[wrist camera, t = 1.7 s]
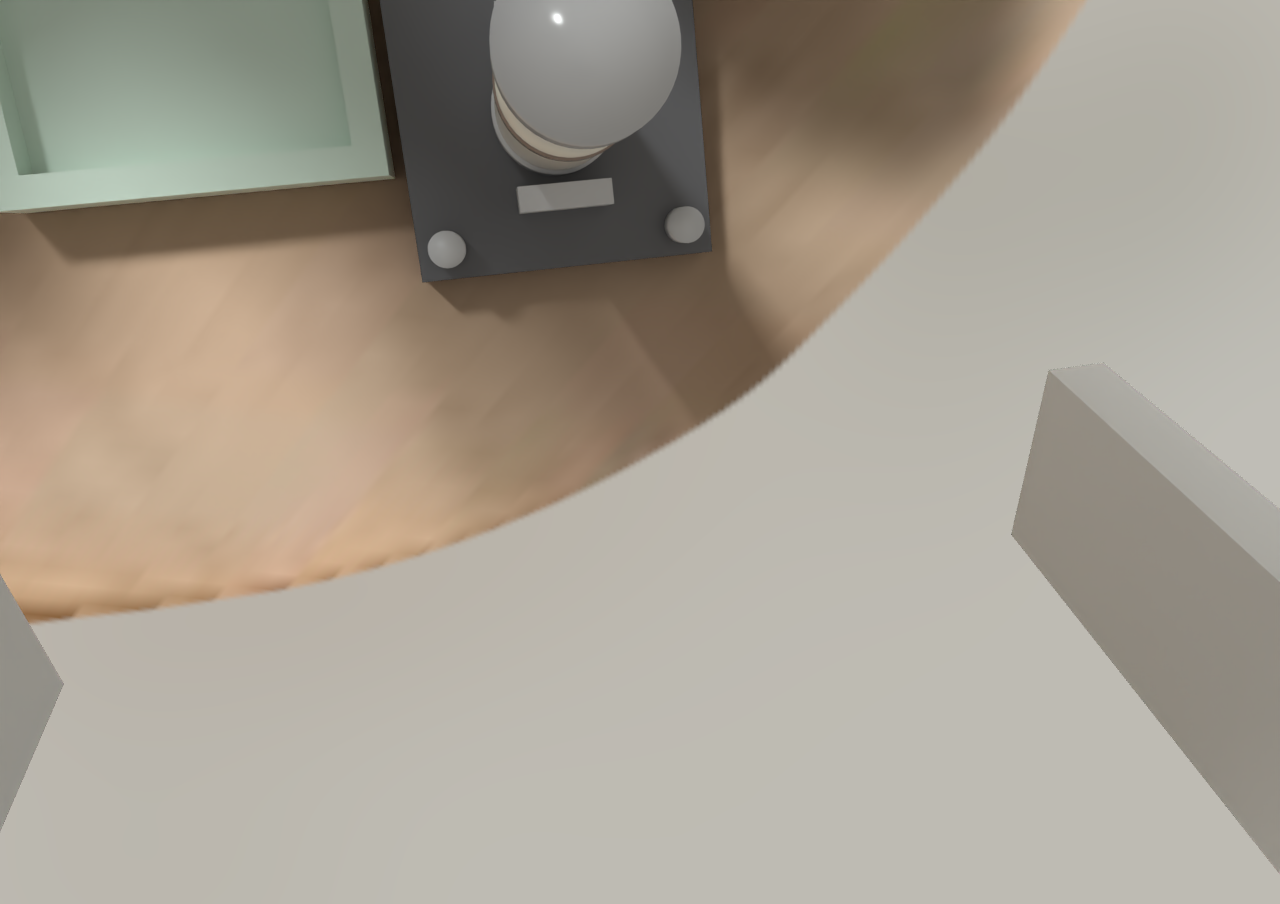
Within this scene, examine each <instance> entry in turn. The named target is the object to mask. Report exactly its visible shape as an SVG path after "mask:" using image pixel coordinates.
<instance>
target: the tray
mask: <svg viewBox="0 0 1280 904" xmlns="http://www.w3.org/2000/svg"><path fill="white" fill-rule="evenodd" d="M386 179H395V172H394V166H393V159H392V153H391V146H390V140H389V134H388V127H387V121H386V114H385V108H384V101H383V95H382V88H381V82H380V75H379V69H378V63H377V56H376V50H375V43H374V37H373V30H372V24H371V17H370V11H369V4H368V0H0V213H34V212H45V211H56V210H66V209H77V208H88V207H98V206H109V205H120V204H130V203H141V202H152V201H162V200H173V199H184V198H194V197H205V196H216V195H226V194H237V193H248V192H258V191H269V190H280V189H290V188H301V187H312V186H322V185H333V184H344V183H354V182H365V181H376V180H386Z"/></svg>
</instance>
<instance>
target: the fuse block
mask: <svg viewBox="0 0 1280 904" xmlns="http://www.w3.org/2000/svg"><path fill="white" fill-rule="evenodd" d="M495 2H496V0H380V6H381V13H382V19H383V26H384V32H385V39H386V45H387V52H388V59H389V65H390V72H391V78H392V85H393V91H394V98H395V105H396V111H397V118H398V124H399V131H400V137H401V144H402V151H403V157H404V164H405V170H406V177H407V183H408V190H409V197H410V203H411V210H412V216H413V223H414V229H415V236H416V243H417V249H418V256H419V262H420V269H421V275H422V282H431V281H440V280H449V279H459V278H468V277H477V276H487V275H496V274H505V273H515V272H524V271H533V270H543V269H552V268H562V267H571V266H580V265H590V264H599V263H608V262H618V261H627V260H636V259H646V258H655V257H664V256H674V255H683V254H692V253H702V252H711V251H712V244H711V232H710V219H709V206H708V193H707V181H706V168H705V155H704V142H703V130H702V117H701V104H700V91H699V79H698V66H697V53H696V40H695V28H694V15H693V2H692V0H672V2H673V5H674V7H675V10H676V13H677V17H678V21H679V26H680V33H681V58H680V65H679V70H678V74H677V77H676V80H675V83H674V86H673V88H672V90H671V92H670V94H669V96H668V98H667V100H666V101H665V103H664V104H663V106H662V107H661V109H660V110H659V111H658V112H657V114H656V115H655V116H654V117H653V118H652V119H651V120H650V121H649V122H648V123H646V124H645V125H644V126H643V127H642V128H640V129H639V130H637V131H636V132H634V133H633V134H631V135H630V136H628V137H627V138H625V139H623V140H621V141H619V142H617V143H615V144H614V145H612V146H611V147H610V148H608V149H607V150H605V151H604V152H602V154H601V155H600V156H599V157H598V158H597V159H595V160H594V161H593V162H592V163H590V164H589V165H587V166H586V167H584V168H583V169H581V170H579V171H577V172H575V173H571V174H568V175H563V176H545V175H540V174H536V173H534V172H531V171H529V170H527V169H525V168H523V167H522V166H520V165H519V164H518V163H516V162H515V161H514V160H513V159H512V158H511V157H510V156H509V155H508V154H507V153H506V152H505V150H504V149H503V147H502V146H501V144H500V143H499V140H498V138H497V136H496V134H495V131H494V127H493V123H492V116H491V96H492V90H493V84H492V74H493V72H492V67H491V62H490V42H489V36H490V22H491V17H492V12H493V8H494V5H495Z"/></svg>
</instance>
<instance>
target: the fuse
mask: <svg viewBox="0 0 1280 904" xmlns="http://www.w3.org/2000/svg"><path fill="white" fill-rule="evenodd" d="M489 42H490V62H491V67H492V72H493V74H492V84H493V90H492V96H491V116H492V123H493V127H494V131H495V134H496V136H497V138H498V140H499V143H500V144H501V146H502V147H503V149H504V150H505V152H506V153H507V154H508V155H509V156H510V157H511V158H512V159H513V160H514V161H515V162H516V163H518V164H519V165H520V166H522V167H523V168H525V169H527V170H529V171H531V172H534V173H536V174H540V175H545V176H563V175H568V174H571V173H575V172H577V171H579V170H581V169H583V168H584V167H586V166H587V165H589V164H590V163H592V162H593V161H594V160H595V159H597V158H598V157H599V156H600V155H601V154H602V152H604V151H605V150H607V149H608V148H610V147H611V146H612V145H614V144H615V143H617V142H619V141H621V140H623V139H625V138H627V137H628V136H630V135H631V134H633V133H634V132H636V131H637V130H639V129H640V128H642V127H643V126H644V125H645V124H646V123H648V122H649V121H650V120H651V119H652V118H653V117H654V116H655V115H656V114H657V112H658V111H659V110H660V109H661V107H662V106H663V104H664V103H665V101H666V100H667V98H668V96H669V94H670V92H671V90H672V88H673V86H674V83H675V80H676V77H677V74H678V70H679V65H680V58H681V33H680V26H679V21H678V17H677V13H676V10H675V7H674V5H673V2H672V0H496V2H495V5H494V8H493V12H492V17H491V22H490V36H489Z"/></svg>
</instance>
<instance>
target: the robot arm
mask: <svg viewBox="0 0 1280 904" xmlns="http://www.w3.org/2000/svg"><path fill="white" fill-rule="evenodd" d="M1011 535H1012V536H1013V537H1014V539H1015V540H1016V541H1017V542H1018V544H1019V545H1020V546H1021V547H1022V549H1023V550H1024V551H1025V552H1026V554H1027V555H1028V556H1029V557H1030V559H1031V560H1032V561H1033V563H1034V564H1035V565H1036V566H1037V568H1038V569H1039V570H1040V571H1041V572H1042V574H1043V575H1044V576H1045V578H1046V579H1047V580H1048V581H1049V583H1050V584H1051V585H1052V586H1053V588H1054V589H1055V590H1056V591H1057V593H1058V594H1059V595H1060V597H1061V598H1062V599H1063V601H1064V602H1065V603H1066V604H1067V605H1068V607H1069V608H1070V609H1071V611H1072V612H1073V613H1074V614H1075V616H1076V617H1077V618H1078V619H1079V621H1080V622H1081V623H1082V624H1083V626H1084V627H1085V628H1086V629H1087V631H1088V632H1089V633H1090V635H1091V636H1092V637H1093V638H1094V640H1095V641H1096V642H1097V644H1098V645H1099V646H1100V647H1101V649H1102V650H1103V651H1104V652H1105V654H1106V655H1107V656H1108V657H1109V659H1110V660H1111V661H1112V663H1113V664H1114V665H1115V666H1116V668H1117V669H1118V670H1119V671H1120V673H1121V674H1122V675H1123V676H1124V678H1125V679H1126V680H1127V681H1128V683H1129V684H1130V685H1131V686H1132V688H1133V689H1134V690H1135V691H1136V693H1137V694H1138V695H1139V697H1140V698H1141V699H1142V700H1143V702H1144V703H1145V704H1146V705H1147V707H1148V708H1149V709H1150V711H1151V712H1152V713H1153V714H1154V716H1155V717H1156V718H1157V719H1158V721H1159V722H1160V723H1161V724H1162V726H1163V727H1164V728H1165V729H1166V731H1167V732H1168V733H1169V735H1170V736H1171V737H1172V738H1173V740H1174V741H1175V742H1176V743H1177V745H1178V746H1179V747H1180V748H1181V750H1182V751H1183V752H1184V754H1185V755H1186V756H1187V757H1188V759H1189V760H1190V761H1191V762H1192V764H1193V765H1194V766H1195V767H1196V769H1197V770H1198V771H1199V773H1200V774H1201V775H1202V776H1203V778H1204V779H1205V780H1206V781H1207V783H1208V784H1209V785H1210V787H1211V788H1212V789H1213V790H1214V791H1215V793H1216V794H1217V795H1218V797H1219V798H1220V799H1221V800H1222V802H1223V803H1224V804H1225V805H1226V807H1227V808H1228V809H1229V810H1230V812H1231V813H1232V814H1233V816H1234V817H1235V818H1236V819H1237V821H1238V822H1239V823H1240V824H1241V826H1242V827H1243V828H1244V829H1245V831H1246V832H1247V833H1248V835H1249V836H1250V837H1251V838H1252V840H1253V841H1254V842H1255V843H1256V845H1257V846H1258V847H1259V849H1260V850H1261V851H1262V852H1263V854H1264V855H1265V856H1266V857H1267V859H1269V861H1270V862H1271V864H1272V865H1273V866H1274V867H1275V869H1276V870H1277V871H1278V872H1279V874H1280V509H1279V508H1278V507H1277V506H1276V505H1274V504H1273V503H1272V502H1271V501H1270V500H1268V499H1267V498H1266V497H1265V496H1264V495H1262V494H1261V493H1260V492H1259V491H1258V490H1256V489H1255V488H1254V487H1253V486H1251V485H1250V484H1249V483H1248V482H1247V481H1245V480H1244V479H1243V478H1242V477H1241V476H1239V475H1238V474H1237V473H1236V472H1235V471H1233V470H1232V469H1231V468H1230V467H1229V466H1227V465H1226V464H1225V463H1224V462H1223V461H1221V460H1220V459H1219V458H1218V457H1217V456H1215V455H1214V454H1213V453H1212V452H1211V451H1209V450H1208V449H1207V448H1206V447H1204V446H1203V445H1202V444H1201V443H1200V442H1199V441H1197V440H1196V439H1195V438H1194V437H1192V436H1191V435H1190V434H1189V433H1188V432H1187V431H1185V430H1184V429H1183V428H1182V427H1180V426H1179V425H1178V424H1177V423H1176V422H1174V421H1173V420H1172V419H1171V418H1169V417H1168V416H1167V415H1166V414H1165V413H1163V412H1162V411H1161V410H1160V409H1159V408H1158V407H1156V406H1155V405H1154V404H1153V403H1152V402H1150V401H1149V400H1148V399H1147V398H1146V397H1144V396H1143V395H1142V394H1141V393H1140V392H1138V391H1137V390H1136V389H1135V388H1133V387H1132V386H1131V385H1130V384H1129V383H1128V382H1126V381H1125V380H1124V379H1123V378H1122V377H1120V376H1119V375H1118V374H1117V373H1115V372H1114V371H1113V370H1112V369H1111V368H1109V367H1108V366H1107V365H1106V364H1105V363H1097V364H1090V365H1082V366H1075V367H1068V368H1061V369H1053V370H1049V371H1048V375H1047V380H1046V384H1045V389H1044V393H1043V398H1042V402H1041V407H1040V411H1039V415H1038V420H1037V424H1036V428H1035V433H1034V437H1033V442H1032V446H1031V450H1030V454H1029V459H1028V463H1027V468H1026V472H1025V477H1024V481H1023V485H1022V490H1021V494H1020V499H1019V503H1018V508H1017V512H1016V516H1015V520H1014V525H1013V530H1012V534H1011ZM63 685H64V683H63V682H62V680H61V678H60V676H59V675H58V673H57V671H56V670H55V668H54V666H53V664H52V663H51V661H50V659H49V657H48V656H47V654H46V652H45V651H44V649H43V647H42V645H41V644H40V642H39V640H38V638H37V637H36V635H35V633H34V632H33V630H32V628H31V626H30V625H29V623H28V621H27V620H26V618H25V616H24V614H23V613H22V611H21V609H20V607H19V606H18V604H17V602H16V601H15V599H14V597H13V595H12V594H11V592H10V590H9V589H8V587H7V585H6V583H5V582H4V580H3V578H2V577H1V575H0V831H1V829H2V826H3V824H4V822H5V819H6V817H7V814H8V812H9V810H10V807H11V805H12V803H13V801H14V798H15V796H16V794H17V791H18V789H19V787H20V784H21V782H22V780H23V778H24V775H25V773H26V770H27V768H28V766H29V763H30V761H31V759H32V757H33V754H34V752H35V750H36V747H37V745H38V743H39V740H40V738H41V736H42V733H43V731H44V729H45V726H46V724H47V722H48V719H49V717H50V715H51V713H52V710H53V708H54V706H55V703H56V701H57V699H58V696H59V694H60V692H61V689H62V687H63Z"/></svg>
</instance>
